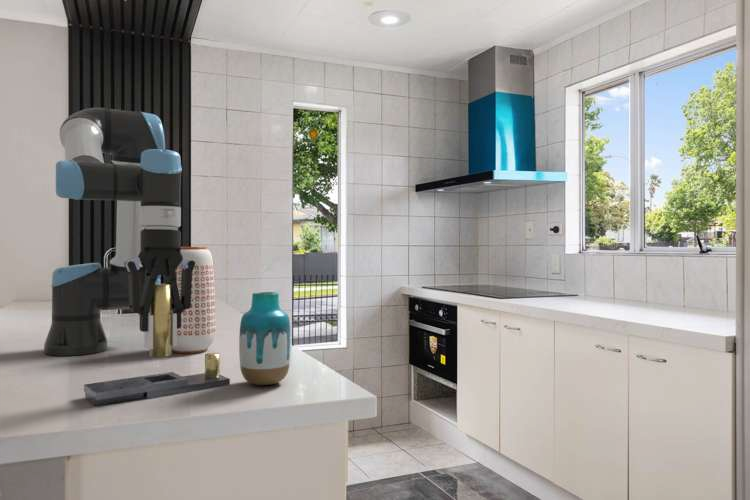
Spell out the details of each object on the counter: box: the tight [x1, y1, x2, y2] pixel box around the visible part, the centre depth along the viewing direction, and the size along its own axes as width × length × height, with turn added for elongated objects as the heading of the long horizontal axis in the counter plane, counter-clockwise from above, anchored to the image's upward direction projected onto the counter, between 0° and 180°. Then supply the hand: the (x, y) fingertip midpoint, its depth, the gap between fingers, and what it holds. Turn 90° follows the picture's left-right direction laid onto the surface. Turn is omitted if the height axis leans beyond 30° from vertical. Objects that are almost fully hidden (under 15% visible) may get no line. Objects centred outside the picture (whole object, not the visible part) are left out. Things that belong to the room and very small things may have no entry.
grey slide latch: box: [83, 352, 231, 407], centre depth 115 cm, size 8×26×6 cm, turn 131°
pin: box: [149, 283, 172, 358], centre depth 115 cm, size 4×4×14 cm
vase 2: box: [238, 291, 292, 386], centre depth 121 cm, size 11×11×19 cm
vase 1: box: [171, 246, 217, 354], centre depth 157 cm, size 13×13×28 cm
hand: (160, 346), depth 115 cm, fingers closed on pin, 4 cm apart
